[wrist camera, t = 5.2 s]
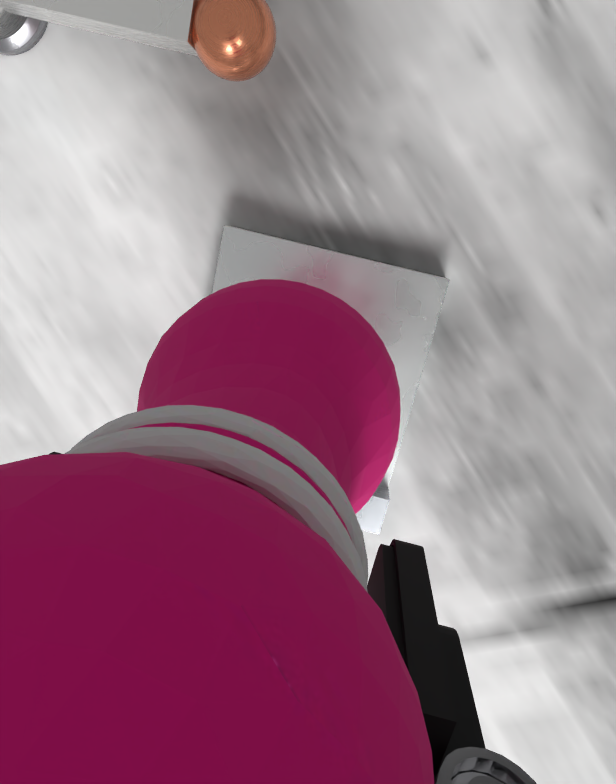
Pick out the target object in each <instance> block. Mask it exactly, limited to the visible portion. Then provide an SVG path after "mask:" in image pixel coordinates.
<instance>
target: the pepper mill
mask: <svg viewBox="0 0 616 784" xmlns="http://www.w3.org/2000/svg"><path fill="white" fill-rule="evenodd" d="M400 412H401V406H400V388H399V384H398V379H397V375H396V371H395V366H394V363H393V361H392V359H391V357H390V355H389V353H388V351H387V349H386V347H385V345H384V343H383V341H382V340H381V338H380V337H379V335H378V334H377V333H376V331H375V330H374V329H373V327H372V326H371V325H370V324H369V323H368V322H367V321H366V320H365V319H364V318H363V317H362V316H361V315H360V314H359V313H358V312H357V311H356V310H355V309H354V308H352V307H351V306H350V305H348V304H347V303H346V302H344V301H343V300H341V299H340V298H338V297H336V296H334V295H332V294H330V293H328V292H326V291H324V290H322V289H320V288H317V287H314V286H311V285H308V284H305V283H301V282H295V281H289V280H283V279H259V280H253V281H247V282H241V283H237V284H235V285H232V286H229V287H226V288H223V289H220V290H218V291H216V292H215V293H213V294H211V295H209V296H207V297H205V298H204V299H202V300H201V301H200V302H198V303H197V304H196V305H195V306H193V307H192V308H191V309H189V310H188V311H187V312H186V313H184V314H183V315H182V316H181V317H179V318H178V319H177V320H176V322H175V323H174V324H173V325H172V326H171V327H170V328H169V329H168V330H167V332H166V333H165V334H164V335H163V336H162V337H161V339H160V341H159V343H158V345H157V347H156V349H155V350H154V352H153V354H152V356H151V358H150V360H149V362H148V364H147V367H146V371H145V374H144V377H143V381H142V384H141V387H140V391H139V399H138V407H137V412H135V413H131V414H127V415H125V416H122V417H120V418H118V419H115V420H113V421H111V422H108V423H106V424H105V425H103V426H102V427H100V428H98V429H97V430H95V431H94V432H92V433H90V434H89V435H87V436H86V437H85V438H83V439H82V440H81V441H80V442H79V443H77V444H76V445H75V446H74V447H73V448H72V449H71V450H70V451H68V452H67V453H65V454H56V455H42V456H38V457H33V458H29V459H25V460H21V461H16V462H12V463H8V464H3V465H0V784H434V772H433V760H432V750H431V746H430V741H429V737H428V733H427V729H426V725H425V721H424V717H423V713H422V709H421V704H420V700H419V696H418V692H417V690H416V687H415V685H414V683H413V681H412V678H411V676H410V674H409V671H408V669H407V667H406V665H405V662H404V660H403V658H402V656H401V653H400V651H399V649H398V646H397V644H396V642H395V640H394V637H393V635H392V633H391V631H390V628H389V626H388V624H387V621H386V619H385V617H384V615H383V612H382V610H381V609H380V608H379V606H378V605H377V604H376V603H375V601H374V600H373V599H372V598H371V596H370V595H369V594H368V590H367V580H368V560H367V554H366V549H365V543H364V538H363V533H362V530H361V527H360V525H359V522H358V520H357V517H356V515H355V514H356V513H357V512H359V511H360V510H361V509H362V508H363V506H364V505H365V504H366V503H367V502H368V501H369V499H370V498H371V497H372V495H373V494H374V492H375V491H376V489H377V488H378V486H379V484H380V483H381V481H382V479H383V478H384V476H385V474H386V472H387V470H388V467H389V465H390V463H391V461H392V459H393V456H394V452H395V449H396V445H397V442H398V436H399V427H400Z"/></svg>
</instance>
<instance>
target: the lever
mask: <svg viewBox="0 0 616 784" xmlns="http://www.w3.org/2000/svg"><path fill="white" fill-rule="evenodd" d="M27 17H30V18H34V19H38V20H43V21H47V22H51V23H56V24H60V25H64V26H69V27H73V28H77V29H82V30H86V31H90V32H95V33H99V34H103V35H107V36H112V37H116V38H120V39H125V40H129V41H133V42H138V43H142V44H146V45H151V46H155V47H159V48H164V49H168V50H172V51H177V52H181V53H185V54H190V55H194V56H198V57H199V58H200V59H201V61H202V62H203V64H204V65H205V66H206V67H207V68H208V69H209V70H210V71H211V72H212V73H214V74H215V75H217V76H218V77H220V78H222V79H226V80H230V81H244V80H248V79H250V78H252V77H254V76H256V75H257V74H259V73H260V72H261V71H262V70H263V69H264V68H265V67H266V66H267V64H268V63H269V61H270V59H271V57H272V54H273V52H274V48H275V42H276V27H275V22H274V18H273V15H272V12H271V10H270V8H269V6H268V4H267V3H266V1H265V0H0V39H5V38H9V37H11V36H13V35H14V34H15V33H17V32H18V31H19V30H20V29H21V28H22V26H23V25H24V23H25V21H26V19H27Z"/></svg>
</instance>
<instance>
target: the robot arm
mask: <svg viewBox="0 0 616 784" xmlns="http://www.w3.org/2000/svg"><path fill="white" fill-rule="evenodd" d="M56 454H61V453H57V452H52V453H50V454H49V455H56ZM367 590H368V594H369V595H370V596H371V598H372V599H373V600H374V601H375V603H376V604H377V605H378V606H379V608H380V609H381V610H382V612H383V615H384V617H385V619H386V621H387V624H388V626H389V628H390V631H391V633H392V635H393V637H394V640H395V642H396V644H397V646H398V649H399V651H400V653H401V656H402V658H403V660H404V662H405V665H406V667H407V669H408V671H409V674H410V676H411V678H412V681H413V683H414V685H415V687H416V690H417V692H418V696H419V700H420V704H421V709H422V713H423V717H424V721H425V725H426V729H427V733H428V737H429V741H430V746H431V750H432V760H433V772H434V784H536V782H535V781H534V780H533V779H532V778H531V777H530V776H529V775H528V774H527V773H526V772H525V771H523V770H522V769H521V768H520V767H519V766H518V765H516V764H515V763H513V762H512V761H510V760H509V759H507V758H505V757H504V756H502V755H500V754H497V753H495V752H492V751H490V750H488V749H485V744H484V740H483V736H482V732H481V728H480V723H479V719H478V715H477V711H476V707H475V702H474V698H473V694H472V690H471V686H470V681H469V677H468V673H467V669H466V665H465V660H464V656H463V652H462V648H461V644H460V639H459V636H458V633H457V631H456V630H455V629H454V628H450V627H446V626H442V625H439V624H438V621H437V616H436V611H435V606H434V600H433V595H432V590H431V585H430V579H429V574H428V569H427V564H426V559H425V553H424V549H423V547H422V546H418V545H415V544H411V543H407V542H403V541H399V540H395V539H393V540H392V542H391V544H390V546H387V545H384V544H381V545H380V546H379V549H378V552H377V555H376V558H375V562H374V565H373V568H372V572H371V575H370V578H369V581H368V585H367Z"/></svg>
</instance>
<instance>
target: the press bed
mask: <svg viewBox="0 0 616 784" xmlns="http://www.w3.org/2000/svg"><path fill="white" fill-rule="evenodd" d="M47 24H48V22H47V21H43V20H38V19H34V18H30V17H27V19H26V21H25V23H24V25H23V26H22V28H21V29H20V30H19V31H18V32H17V33H15V34H14V35H13V36H11V37H9V38H5V39H0V54H2V55H18V54H21V53H24V52H26V51H28V50H30V49H31V48H32V47H34V46H35V45H36V44H37V43H38V42H39V40H40V39H41V37H42V36H43V34H44V32H45V30H46V27H47ZM259 279H283V280H289V281H295V282H301V283H305V284H308V285H311V286H314V287H317V288H320V289H322V290H324V291H326V292H328V293H330V294H332V295H334V296H336V297H338V298H340V299H341V300H343V301H344V302H346V303H347V304H348V305H350V306H351V307H352V308H354V309H355V310H356V311H357V312H358V313H359V314H360V315H361V316H362V317H363V318H364V319H365V320H366V321H367V322H368V323H369V324H370V325H371V326H372V327H373V329H374V330H375V331H376V333H377V334H378V335H379V337H380V338H381V340H382V341H383V343H384V345H385V347H386V349H387V351H388V353H389V355H390V357H391V359H392V361H393V363H394V366H395V371H396V375H397V379H398V384H399V388H400V406H401V412H400V427H399V436H398V442H397V445H396V449H395V452H394V456H393V459H392V461H391V463H390V465H389V467H388V470H387V472H386V474H385V476H384V478H383V479H382V481H381V483H380V484H379V486H378V488H377V489H376V491H375V492H374V494H373V495H372V497H371V498H370V499H369V501H368V502H367V503H366V504H365V505H364V506H363V508H362V509H361V510H360V511H359V512H357V513H356V514H355V515H356V517H357V520H358V522H359V525H360V527H361V530H362V531H366V532H370V533H374V534H378V535H379V534H380V530H381V527H382V524H383V520H384V517H385V514H386V510H387V507H388V504H389V489H388V487H389V483H390V480H391V477H392V473H393V470H394V466H395V463H396V460H397V456H398V453H399V450H400V446H401V443H402V440H403V436H404V433H405V429H406V426H407V423H408V419H409V416H410V413H411V409H412V406H413V402H414V399H415V396H416V392H417V389H418V386H419V382H420V379H421V375H422V372H423V369H424V365H425V362H426V359H427V355H428V352H429V348H430V345H431V342H432V338H433V335H434V332H435V328H436V325H437V321H438V318H439V315H440V311H441V308H442V305H443V301H444V298H445V295H446V291H447V288H448V284H449V281H450V280H449V279H447V278H445V277H441V276H437V275H432V274H428V273H424V272H420V271H416V270H412V269H407V268H403V267H399V266H395V265H391V264H387V263H383V262H378V261H374V260H370V259H366V258H362V257H358V256H353V255H349V254H345V253H341V252H337V251H333V250H328V249H324V248H320V247H316V246H312V245H308V244H304V243H299V242H295V241H291V240H287V239H283V238H279V237H274V236H270V235H266V234H262V233H258V232H254V231H249V230H245V229H241V228H237V227H233V226H225V225H224V228H223V234H222V240H221V245H220V251H219V256H218V262H217V267H216V273H215V279H214V284H213V290H212V294H213V293H215V292H216V291H218V290H220V289H223V288H226V287H229V286H232V285H235V284H237V283H241V282H247V281H253V280H259Z"/></svg>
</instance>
